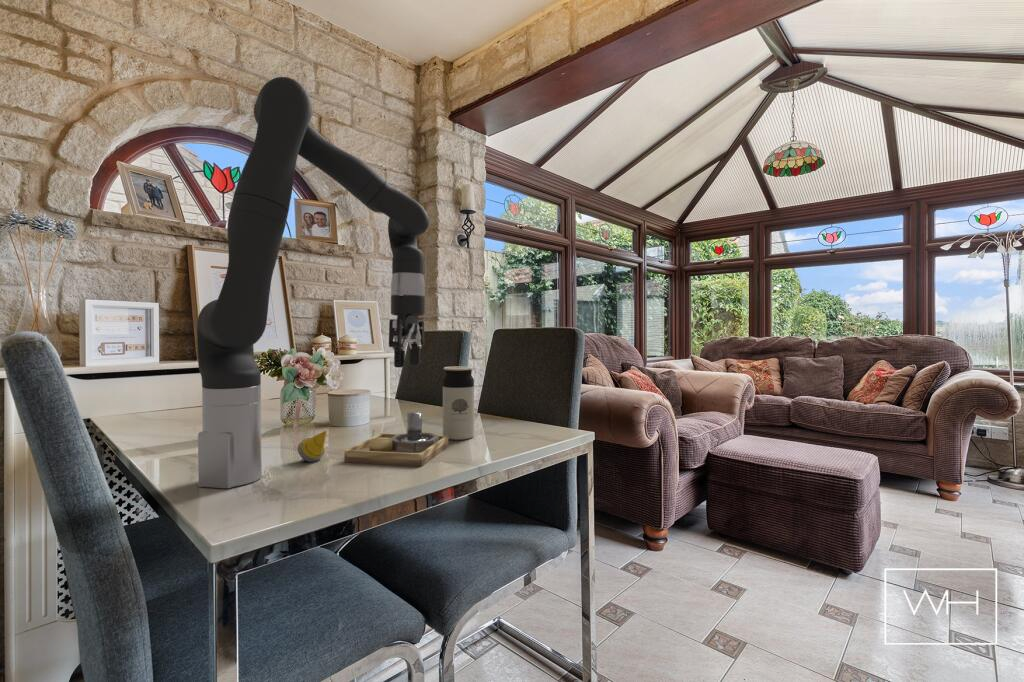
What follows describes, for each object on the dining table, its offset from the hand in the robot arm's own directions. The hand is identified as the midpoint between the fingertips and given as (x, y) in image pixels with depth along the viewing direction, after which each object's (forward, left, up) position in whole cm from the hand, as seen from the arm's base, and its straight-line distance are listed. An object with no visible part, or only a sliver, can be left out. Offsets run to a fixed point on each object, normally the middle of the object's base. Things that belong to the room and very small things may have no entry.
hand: (407, 366), depth 109 cm
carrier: (-3, +1, -19) cm, 19 cm away
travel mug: (+16, -7, -20) cm, 26 cm away
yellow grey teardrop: (-11, +16, -20) cm, 28 cm away
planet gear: (0, -2, -18) cm, 18 cm away
